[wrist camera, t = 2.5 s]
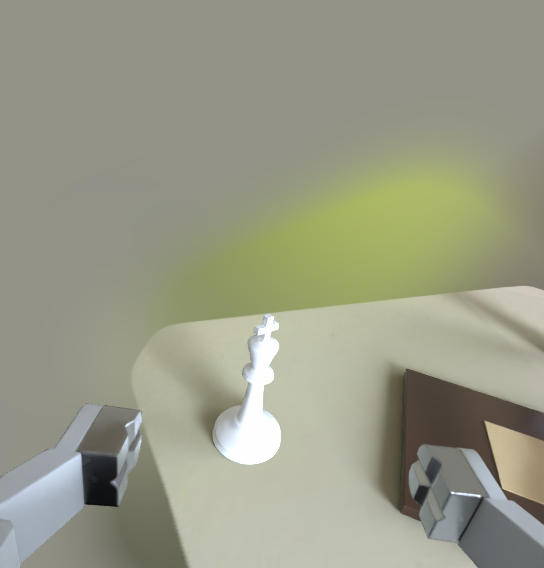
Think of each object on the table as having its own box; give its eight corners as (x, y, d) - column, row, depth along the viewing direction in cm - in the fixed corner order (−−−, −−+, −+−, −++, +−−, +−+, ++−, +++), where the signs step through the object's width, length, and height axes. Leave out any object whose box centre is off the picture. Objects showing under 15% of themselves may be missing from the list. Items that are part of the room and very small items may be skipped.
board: (399, 513, 23) (404, 503, 23) (404, 374, 37) (407, 367, 37) (812, 688, 18) (826, 679, 18) (636, 451, 32) (642, 443, 32)
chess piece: (293, 443, 27) (323, 325, 23) (240, 477, 24) (264, 346, 20) (251, 402, 30) (271, 292, 26) (199, 427, 27) (212, 306, 23)
